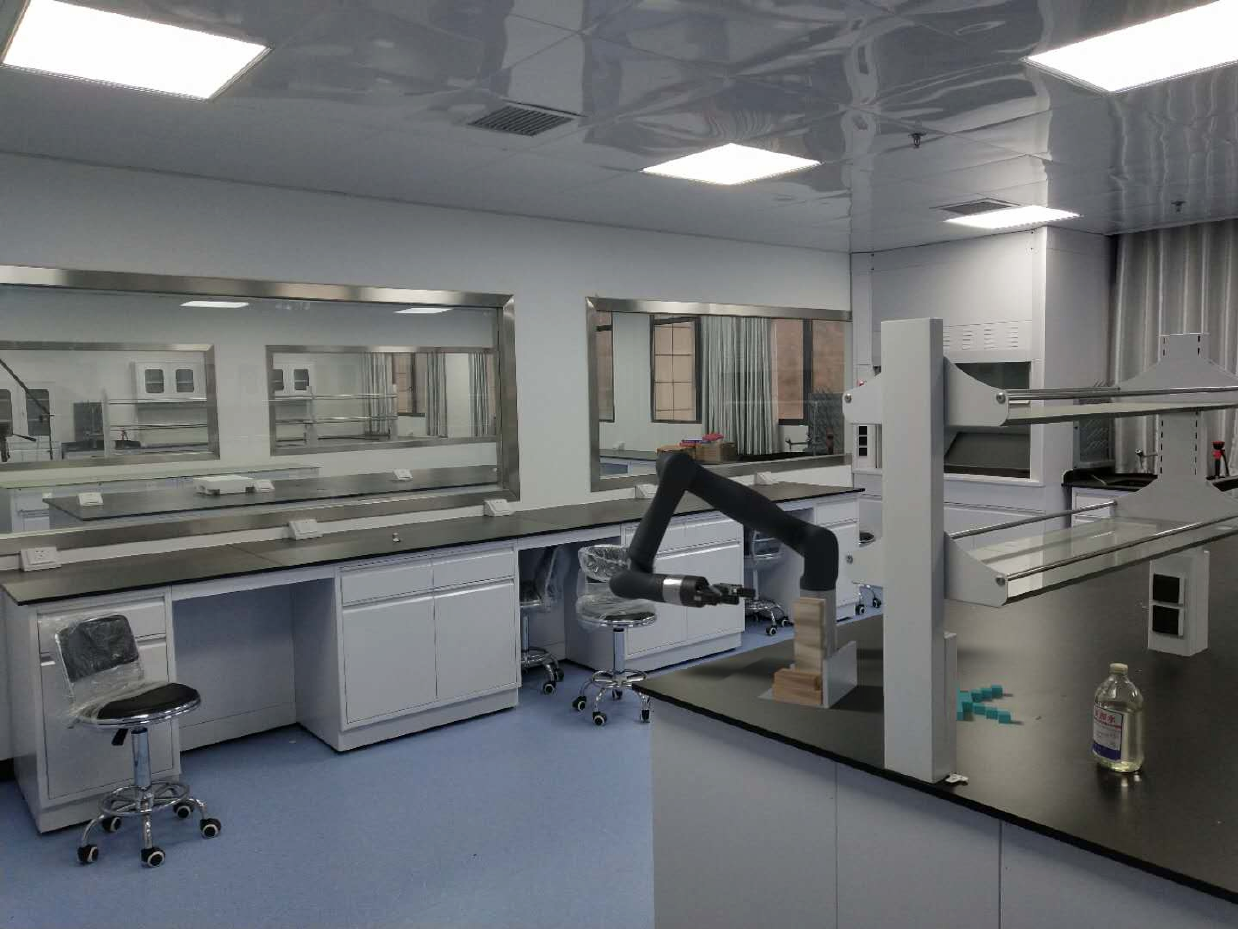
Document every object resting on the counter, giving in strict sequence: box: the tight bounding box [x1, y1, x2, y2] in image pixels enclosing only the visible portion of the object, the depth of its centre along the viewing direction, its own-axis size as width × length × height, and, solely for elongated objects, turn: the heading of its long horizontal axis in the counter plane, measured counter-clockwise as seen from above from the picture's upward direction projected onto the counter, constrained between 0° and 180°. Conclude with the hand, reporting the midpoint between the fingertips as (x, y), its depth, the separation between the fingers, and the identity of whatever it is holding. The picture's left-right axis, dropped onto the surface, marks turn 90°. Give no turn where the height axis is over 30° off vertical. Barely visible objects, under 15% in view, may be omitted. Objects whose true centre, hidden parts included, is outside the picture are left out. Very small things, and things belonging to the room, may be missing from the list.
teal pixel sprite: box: [956, 682, 1012, 725], centre depth 195 cm, size 20×2×20 cm
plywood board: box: [793, 596, 827, 676], centre depth 204 cm, size 4×6×20 cm, turn 57°
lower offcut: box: [771, 682, 823, 704], centre depth 199 cm, size 5×11×2 cm, turn 57°
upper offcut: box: [773, 667, 822, 691], centre depth 199 cm, size 5×9×2 cm, turn 57°
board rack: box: [757, 640, 858, 709], centre depth 202 cm, size 18×16×12 cm
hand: (747, 596), depth 211 cm, fingers open, 8 cm apart
